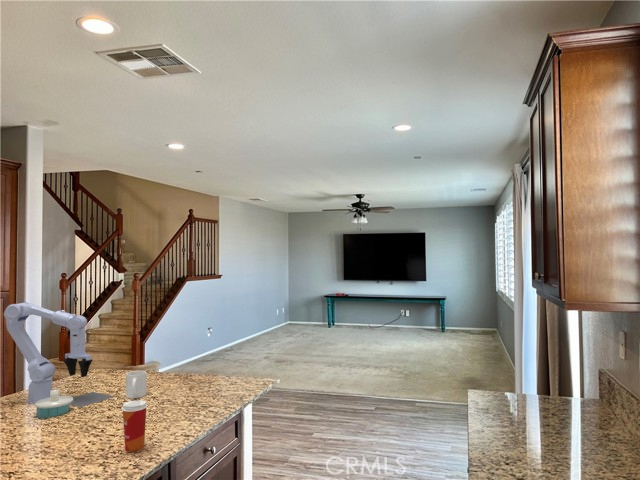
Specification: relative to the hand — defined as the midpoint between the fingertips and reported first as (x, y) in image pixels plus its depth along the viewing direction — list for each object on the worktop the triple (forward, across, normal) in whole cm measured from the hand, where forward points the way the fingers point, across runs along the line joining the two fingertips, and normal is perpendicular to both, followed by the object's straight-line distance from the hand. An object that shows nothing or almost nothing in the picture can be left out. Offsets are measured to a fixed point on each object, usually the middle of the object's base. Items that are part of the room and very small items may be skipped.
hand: (78, 375), depth 197 cm
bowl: (+10, +6, -16) cm, 20 cm away
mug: (+11, +20, +12) cm, 26 cm away
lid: (+6, +7, -15) cm, 18 cm away
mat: (+10, +4, +1) cm, 11 cm away
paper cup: (+11, +63, -26) cm, 69 cm away
